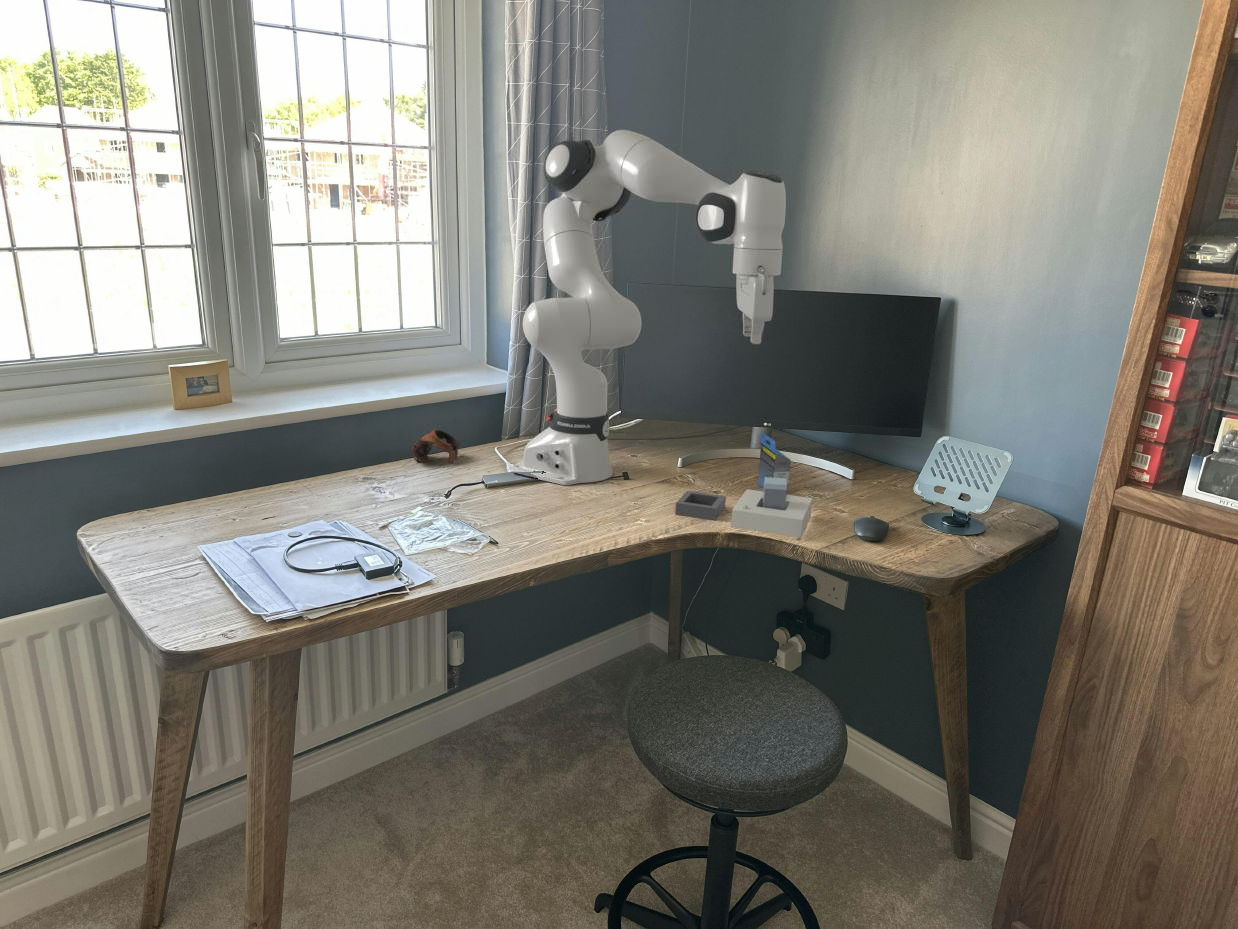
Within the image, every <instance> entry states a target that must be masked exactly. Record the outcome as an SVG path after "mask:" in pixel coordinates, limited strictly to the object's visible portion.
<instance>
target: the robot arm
mask: <svg viewBox="0 0 1238 929" xmlns="http://www.w3.org/2000/svg"><path fill="white" fill-rule="evenodd" d="M545 156H546V157H545V159H544V162H543V176H544V177H545V180H546V182H548V184H549V185H550V186H551V187H552V188H554V190H556V191H557V192H560V193H561V196H560V197H557V198H554V199H553V200H551V201H550V202H549V203H547V205H546V206H545V208H544V211H543V215H542V216H543V217H542V218H543V219H542V237H543V238H542V239H543V245H544V247H543V248H544V254H545V258H546V265H547V271H548V272H547V273H548V276H549V277H548V278H550V280H551V282H552V284H553V285H554V286H555V288H557V289H559V290H560V291H562V292H564V293H566V294H568V295H570V296H571V297H551V298H546V299H541V300H536V301H533V302H531V303H530V304H529V306H528V307H527V308H526V310H525V312H524V314H523V318H522V330H523V334H524V336H525V339H526V340H527V342H528V343H529V344H530V345H531V346H532V347H533V348H534V349H536V350H537V351H538V352H540V354H541V355H543V357H545V359H546V361H548V363H549V366H550V368H551V370H552V372H553V375H554V380H555V381H554V382H555V388H556V408H555V409H554V411H553V412H551V413H549V415H547V416H546V417H545V418H546V420H545V421H546V422H549V426H548V427H547V428H545V429H544V430H543V431H541V432H539V434H537V435H536V436H535V437H534V438H532V439H531V440H529V441H528V442H527V444H526V445H525V448H524V451H523V456H522V457H523V458H522V459H521V460H518V461H517V462H516V463H515V464H514V465H513V467H512V473H513V472H533V471H534V470H535V471H544V472H546V473H543V474H541V473H531V474H533V475H535V476H536V477H537V478H538V479H537V480H541V481H544V482H549V483H553V484H558V485H562V486H572V485H576V484H583V483H584V484H585V483H586V484H587V483H593V482H595V483H596V482H600V481H604V480H607V479H609V478H611V477H612V476H613V474H614V471H613V468H612V464H611V460H610V458H611V457H610V454H609V453H610V451H609V442H608V438H609V432H610V415H609V412H608V385H609V384H608V380H607V377H606V375H605V373H604V372H602V370H600V369H598V368H597V367H595V366H593V365H591V364H588V363H586V362H584V359H583V356H582V355H583V353H582V352H583V351H584V350H587V351H588V350H613V349H619V348H622V347H626V346H630V345H632V344H634V343H635V342H636V340H638V337H639V336H640V334H641V329H642V326H643V324H642V322H643V321H642V315H641V312H640V310H639V309H638V306H637V305H636V304H635V302H633V301H632V300H630V299H628V298H626V297H625V296H623V295H621V293H619V292H618V291H617V290H616V289H615V288H614V287H613V286H612V285H611V284H610V282H609V281H608V280H607V278H606V277H605V274H604V273H603V271H602V268H601V266H600V262H599V261H600V260H599V257H598V254H597V250H596V249H597V248H596V245H595V238H594V234H593V228H592V223H593V221H595V222H603V221H605V220H606V219H607V218H609V217H611V216H614V215H616V214H617V213H619V212H620V211H622V210H623V208H625V206H627V203H628V202H629V200H630V198H631V194H634V195H635V196H637V197H640V198H642V199H645V200H649V201H652V202H657V203H681V204H690V205H697V206H696V208H695V209H696V210H695V214H694V223H695V229H696V230H697V234H698V235H699V236H700V238H701V239H702V240H704V241H705V242H706V243H711V244H715V245H733V257H732V258H733V259H732V274H734V275H736V279H735V280H736V285H735V286H736V292H735V293H736V306H737V309H738V310H739V311H741V312H742V324H743V330H742V333H743V334H742V335H743V336H744V337H750V339H749V340H750V343H751V344H752V345H760V344H761V343H762V336H763V332H764V329H765V322H770V321H772V318H773V313H774V289H775V286H774V284H775V283H774V276H780V275H781V272H782V260H783V248H784V247H783V246H784V245H783V241H782V233H783V230H784V227H785V223H786V222H785V221H786V211H787V210H786V209H787V195H786V187H785V182H784V181H783V179H782V178H781V177H780V176H779V175H776V174H774V173H770V172H761V171H756V170H755V171H753V170H751V171H746V172H743V173H742V174H741V175H740V176H739V178H738V179H737V180H735V181H734V182H733V183H730V182H728V181H726V180H724V179H722V178H720V177H717V176H716V175H714V174H712V173H709V172H708V171H706V170H703V169H701V168H700V167H698V166H697V165H695V164H693V163H692V162H690V161H689V160H688V159H687V160H686V159H685V158H683V157H682V156H680V155H678V154H676V152H673V151H672V150H671V149H669V148H667V147H665V146H664V144H661V143H659V142H657V141H656V140H654V139H653V138H650V137H649V136H646V135H644V134H641V133H638V132H635V131H632V130H628V129H618V130H615V131H613V132H611V133H609V134H608V136H607V137H606V138H605V139H604V141H603V142H602V144H601V145H598V146H594V144H593V143H592V142H591V140H589V139H583V140H569V139H568V140H563V141H560V142H557V143H556V144H555V145H553V147H551V148H550V150H549V151H548V152H547V155H545Z"/></svg>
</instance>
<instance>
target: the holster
mask: <svg viewBox="0 0 1238 929" xmlns="http://www.w3.org/2000/svg"><path fill="white" fill-rule="evenodd" d="M726 500H727V496H726V495H719V494H712V493H706V492H700V491H699V492H698V491H692V490H687V491H685V493H684V494H682V496H681V497H679V499H678V500H677V501H676V502H675V511H674V512H675V514H674V515H675V516H681V517H682V516H683V517H687V518H688V517H689V518H695V519H702V520H707V521H708V520H709V521H714V522H715V521H717V519H718V518H719V517H720V515H721V514H722V512H723V511H724V510H725V508H726V504H727V503H726Z"/></svg>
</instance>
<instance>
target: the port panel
mask: <svg viewBox="0 0 1238 929" xmlns="http://www.w3.org/2000/svg"><path fill="white" fill-rule="evenodd" d="M763 492H764V490H763V491H762V490H755V489H746V490H745V491H744V493H743V494H742V496H740V498H739V499H738V501H737V502H736V504H735V505H734V507H733V508H732V509H731V520H730V521H731V522H730V528H735V529H741V530H747V531H754V532H762V533H768V534H774V535H780V536H781V535H782V536H788V537H793V538H796V540H797V541H801V540H802V538H803V535H804V534H805V531H806V530H807V529H806V528H807V526H808V524H809V522H810V519H811V517H812V507H813V497H806V496H799V495H793V494H792V495H790V494H788V495H786V503H785V511H784V510H777V509H770V508H763V507H762V504H763Z"/></svg>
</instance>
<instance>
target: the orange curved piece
mask: <svg viewBox="0 0 1238 929" xmlns="http://www.w3.org/2000/svg"><path fill="white" fill-rule="evenodd" d="M444 439H445V441H444ZM433 446H434V447H436V448H438V449H439V450H443V451H444V452H445V453H447V454H448V459H447V461H446V462H447V463H448V464H450V463H451V464H452V463H453V462H454V461H455V459H457V457H458V454H459V452H458V448H459V447H460V443H459V441H458V440H457V439H456V438H455V437H454V436H452V435H451V434H450V433H447V432H446V431H444V430H441V429H432V430H431V432H430V433H427V434H425V435H424V436H422V437H421V439H420V440H418V441H416V442H415V443H413V445H412V447H411V452H412V454H413V457H414V459H413V460H414V462H415V461H416V462H418V463H426V461H427V458H428V455H429V453H430V451H431V450H432V448H433ZM416 462H415V463H416Z"/></svg>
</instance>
